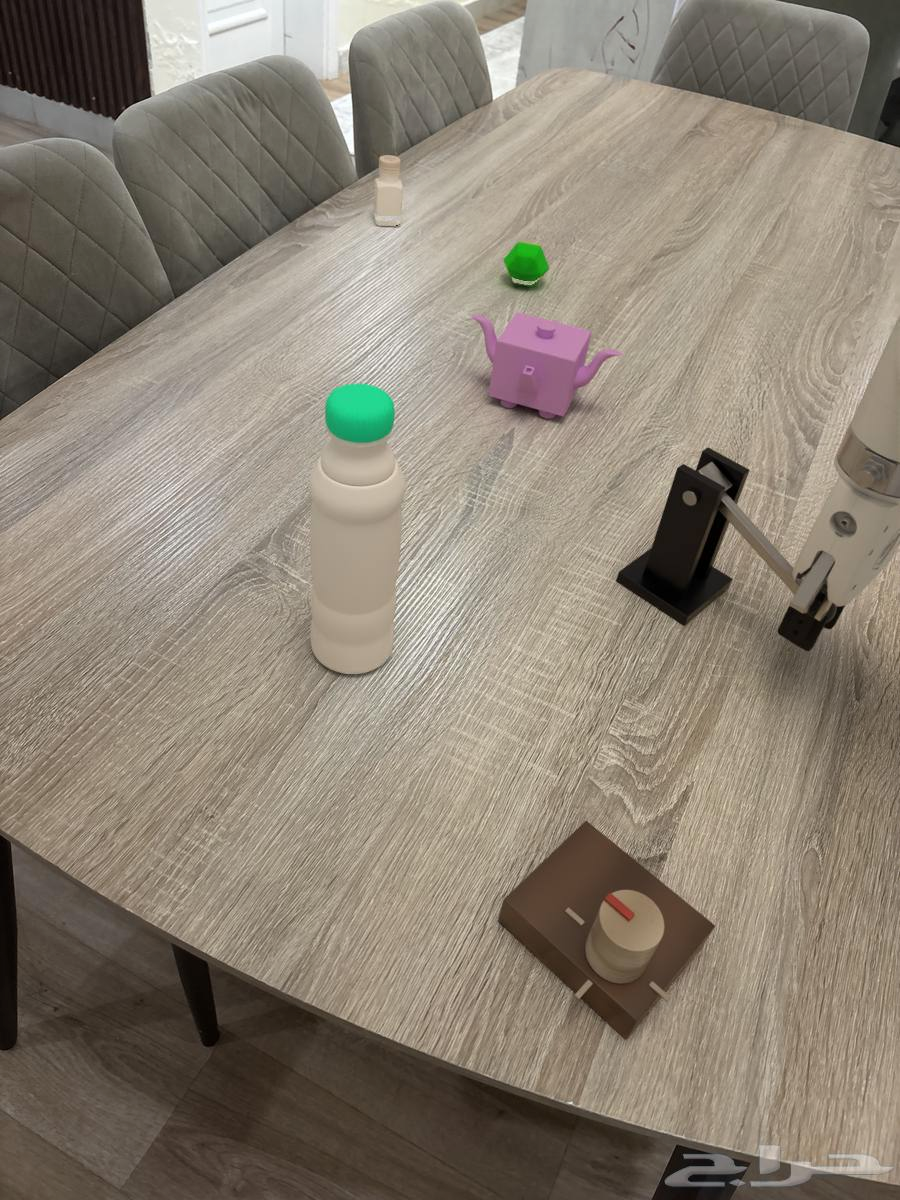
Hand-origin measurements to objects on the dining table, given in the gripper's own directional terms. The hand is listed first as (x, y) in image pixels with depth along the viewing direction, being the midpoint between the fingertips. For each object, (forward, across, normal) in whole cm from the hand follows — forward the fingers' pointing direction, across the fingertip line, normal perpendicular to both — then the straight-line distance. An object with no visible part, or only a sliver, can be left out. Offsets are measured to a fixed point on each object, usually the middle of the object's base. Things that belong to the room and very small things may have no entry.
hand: (805, 629), depth 83 cm
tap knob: (+1, -36, -6) cm, 37 cm away
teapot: (+4, +14, +43) cm, 45 cm away
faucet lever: (-4, 0, +7) cm, 8 cm away
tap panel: (+4, -34, -4) cm, 34 cm away
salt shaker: (+4, +35, +91) cm, 98 cm away
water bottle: (+4, -29, +27) cm, 40 cm away
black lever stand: (+4, 0, +13) cm, 14 cm away
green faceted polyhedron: (+4, +38, +65) cm, 76 cm away
